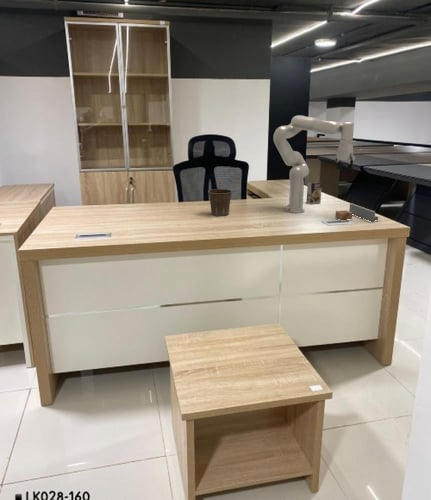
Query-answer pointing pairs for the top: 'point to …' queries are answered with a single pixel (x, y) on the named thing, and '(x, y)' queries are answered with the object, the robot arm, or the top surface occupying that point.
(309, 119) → the robot arm
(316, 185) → the coffee box
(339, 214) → the walnut block
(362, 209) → the board
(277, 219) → the top surface
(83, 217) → the top surface
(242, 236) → the top surface
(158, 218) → the top surface
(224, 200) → the plant pot
